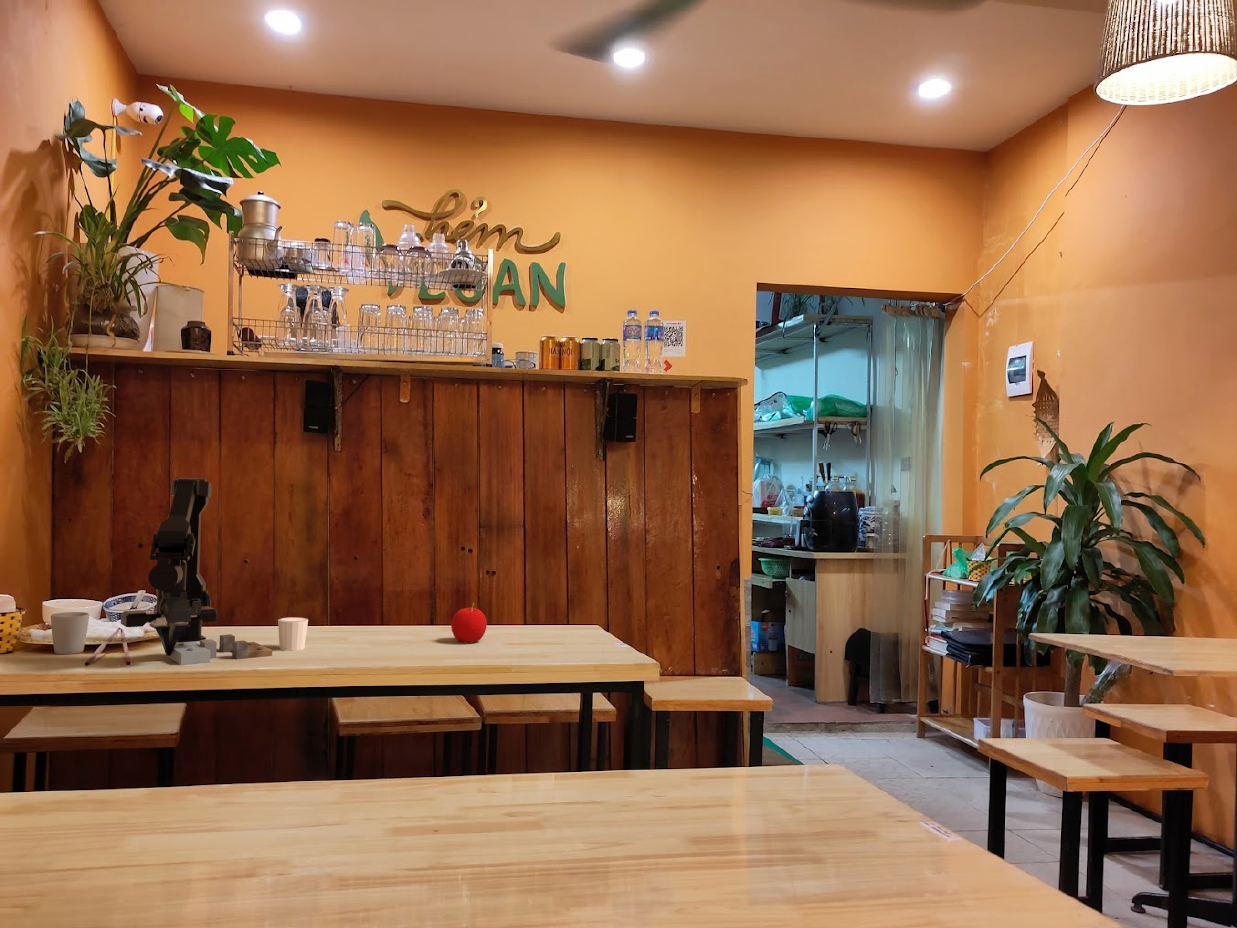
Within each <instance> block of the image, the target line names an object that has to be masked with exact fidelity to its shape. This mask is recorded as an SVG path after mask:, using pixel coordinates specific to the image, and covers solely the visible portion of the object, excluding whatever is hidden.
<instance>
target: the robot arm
mask: <svg viewBox="0 0 1237 928" xmlns="http://www.w3.org/2000/svg"><path fill="white" fill-rule="evenodd" d="M212 485H213V484H212V483H211V482H210V481H207V478H203V477H201V478H200V477H199V478H197V477H179V478H178V479H174V480H171V489H170V496H171V497H172V500H171V504H170V508H169V511H168V516H167V519H164V520H163V521H161V523H159V525H158V528H157V531H156V532H154V534H153V537H152V538H153V539H152V544H151V549H150V554H149V560H150V561H157V562H156V565H154V566H153V567H152V568H151V569H150V571H149V573H148V582H149V584H150V586H151V587H152V588H153V589H155V593H156V605H155V609H154V610H155V612H151V613H150V612H149V613H147V612H145V611H143V610H141V609H136V610H123V612H122V613H121V615H120V625H122V626H124V627H125V628H138V627H144V626H145V625H146V624H147V623H149V627H151V629H154V630H155V631H156V632H157V634H158V637H159V639H160V641H161V644H162V647H163V650H164V654H165V656H166V655H167V657H168V656H171V654H172V651H173V649H174V647H175V644H176V643H177V642H178V643H183V642H194V641H200V640H207V637H206V636H204V635H202V628H203V627H202V624H203V623H214V622H218V619H219V617H218V616H219V613H218V610H217V609H216V608H215V607H212V601H211V595H210V594H209V590H207V589H206V584H207V583H206V581H205V580H204V578H203V576H202V575H201V573H200V560H201V559H200V558H201V554H200V553H201V526H202V514H203V512H204V510H205V509H206V508H207V506H208V505H209V502H210V501H209V499H210V498H212V491H213V489H212V487H213V486H212ZM168 624H169V625H168Z"/></svg>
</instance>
